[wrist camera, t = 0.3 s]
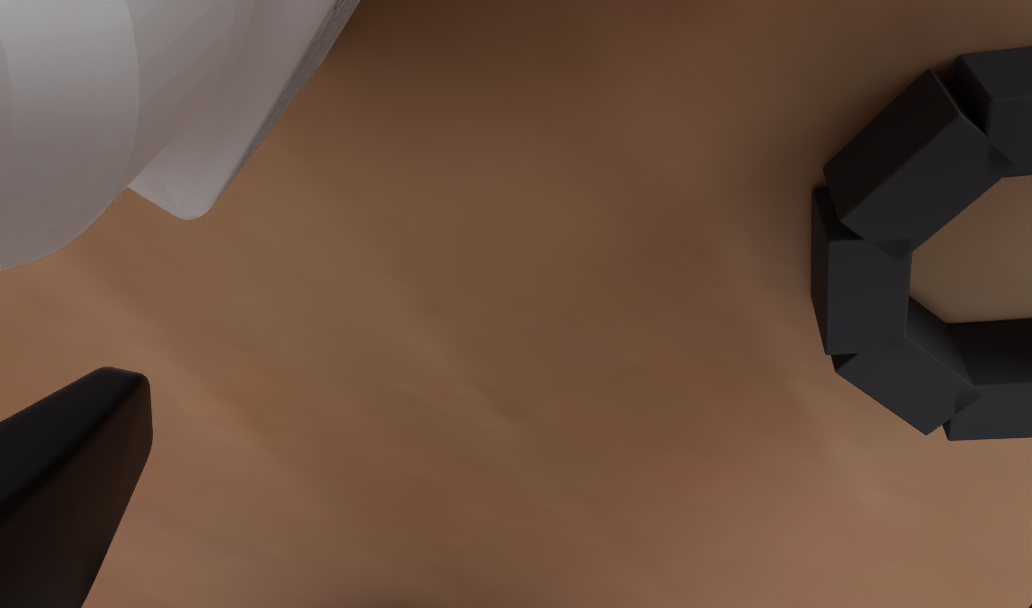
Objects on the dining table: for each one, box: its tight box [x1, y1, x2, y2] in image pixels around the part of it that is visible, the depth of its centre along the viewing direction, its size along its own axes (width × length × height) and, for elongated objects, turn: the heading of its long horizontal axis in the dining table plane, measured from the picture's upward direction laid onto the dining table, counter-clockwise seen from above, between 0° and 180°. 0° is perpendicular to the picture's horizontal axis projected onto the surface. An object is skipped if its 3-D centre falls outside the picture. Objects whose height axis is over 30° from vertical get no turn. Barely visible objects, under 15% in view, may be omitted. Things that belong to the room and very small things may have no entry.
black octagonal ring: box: [811, 47, 1032, 441], centre depth 22 cm, size 9×9×2 cm
